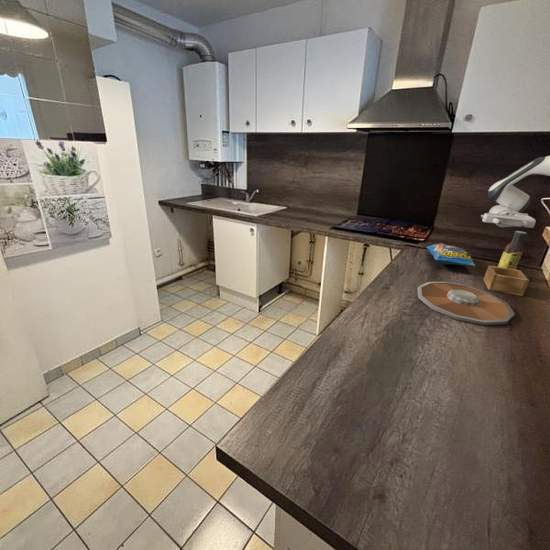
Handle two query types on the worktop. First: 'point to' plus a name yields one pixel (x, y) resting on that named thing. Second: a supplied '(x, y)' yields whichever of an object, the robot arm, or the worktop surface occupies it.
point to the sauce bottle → (513, 251)
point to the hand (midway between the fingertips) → (511, 223)
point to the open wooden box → (505, 280)
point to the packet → (450, 255)
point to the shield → (465, 303)
